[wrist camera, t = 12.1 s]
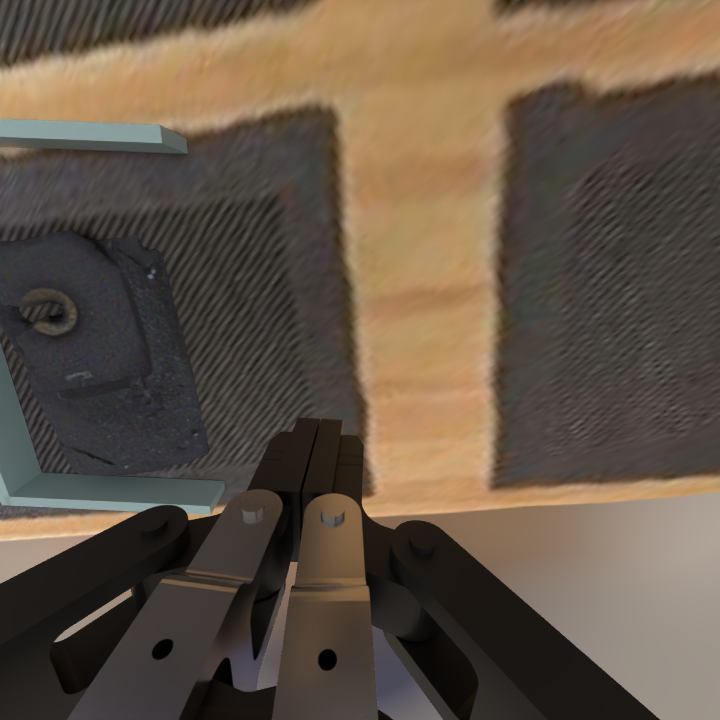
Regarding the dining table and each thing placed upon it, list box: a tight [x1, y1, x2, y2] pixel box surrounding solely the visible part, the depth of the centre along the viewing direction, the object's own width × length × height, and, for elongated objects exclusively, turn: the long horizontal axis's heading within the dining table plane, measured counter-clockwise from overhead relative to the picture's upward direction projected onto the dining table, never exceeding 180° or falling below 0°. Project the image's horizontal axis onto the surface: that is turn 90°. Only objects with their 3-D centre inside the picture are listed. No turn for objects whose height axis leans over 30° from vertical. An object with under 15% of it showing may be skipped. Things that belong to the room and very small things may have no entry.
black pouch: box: [0, 230, 209, 476], centre depth 30 cm, size 15×22×5 cm
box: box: [0, 119, 225, 515], centre depth 30 cm, size 31×20×4 cm, turn 178°
